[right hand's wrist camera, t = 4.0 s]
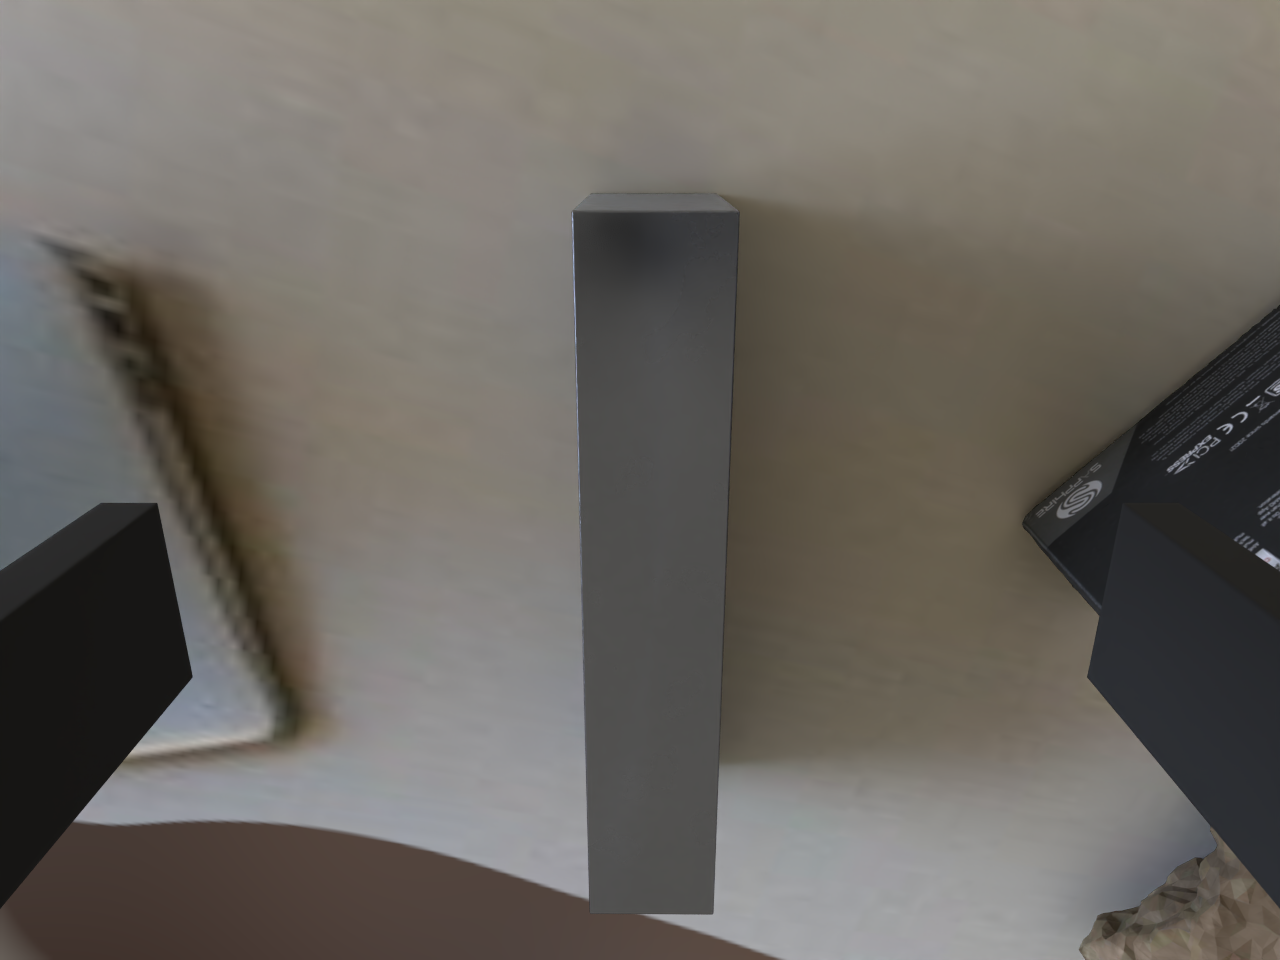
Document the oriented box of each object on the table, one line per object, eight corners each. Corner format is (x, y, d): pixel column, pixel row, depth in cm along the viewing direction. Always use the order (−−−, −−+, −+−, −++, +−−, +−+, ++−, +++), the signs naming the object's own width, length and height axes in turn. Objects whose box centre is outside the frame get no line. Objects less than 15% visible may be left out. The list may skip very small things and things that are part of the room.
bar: (590, 193, 34) (571, 210, 25) (717, 193, 34) (739, 210, 25) (600, 765, 43) (589, 914, 35) (701, 766, 43) (713, 915, 34)
